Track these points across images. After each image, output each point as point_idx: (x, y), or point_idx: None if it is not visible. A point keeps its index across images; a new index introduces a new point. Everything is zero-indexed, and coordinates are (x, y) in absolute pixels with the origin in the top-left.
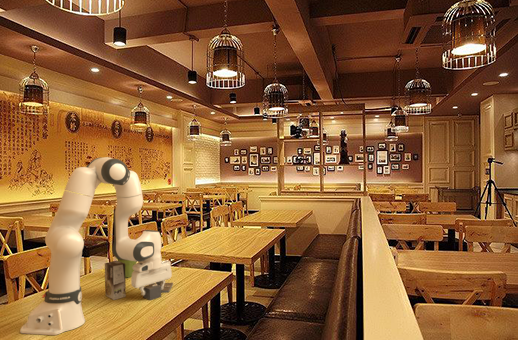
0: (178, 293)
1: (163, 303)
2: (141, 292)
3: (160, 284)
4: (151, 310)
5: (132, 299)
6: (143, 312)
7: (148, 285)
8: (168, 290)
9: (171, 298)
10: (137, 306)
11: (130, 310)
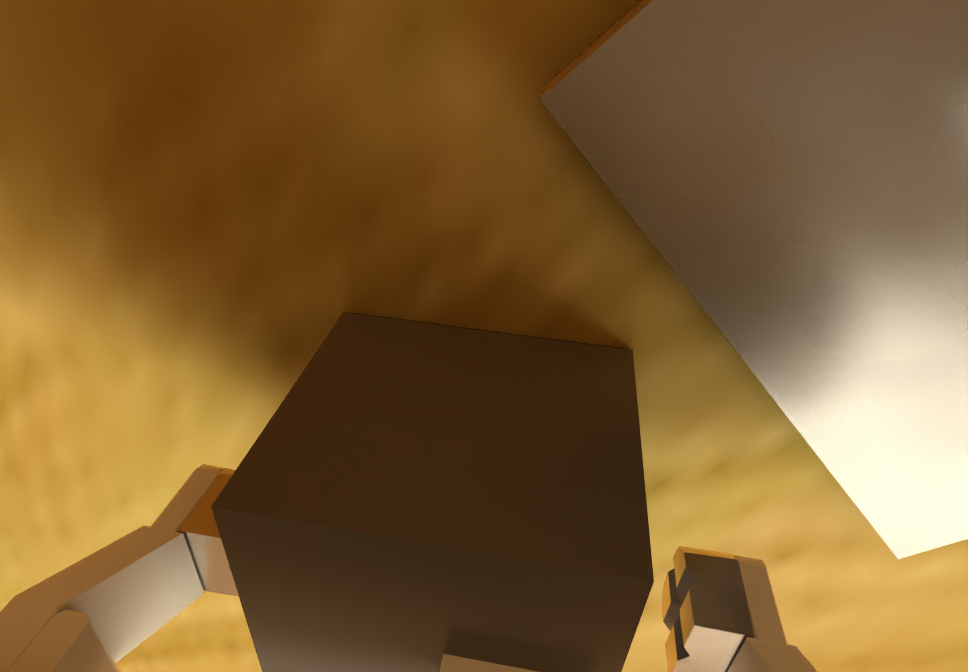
0: (886, 648)
1: None
2: (172, 502)
3: (765, 665)
4: (222, 665)
5: (120, 216)
6: None
7: (402, 563)
8: (893, 548)
9: (627, 663)
10: (117, 505)
11: (7, 519)
